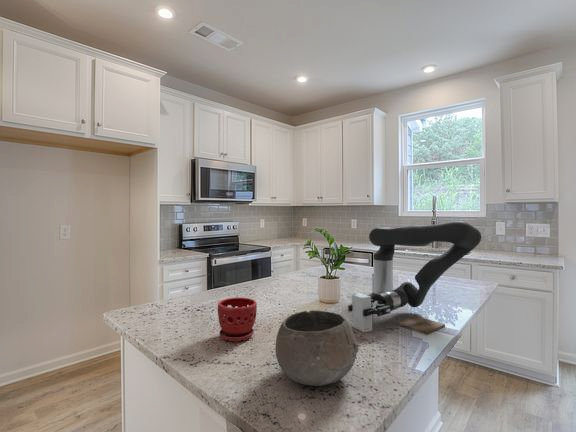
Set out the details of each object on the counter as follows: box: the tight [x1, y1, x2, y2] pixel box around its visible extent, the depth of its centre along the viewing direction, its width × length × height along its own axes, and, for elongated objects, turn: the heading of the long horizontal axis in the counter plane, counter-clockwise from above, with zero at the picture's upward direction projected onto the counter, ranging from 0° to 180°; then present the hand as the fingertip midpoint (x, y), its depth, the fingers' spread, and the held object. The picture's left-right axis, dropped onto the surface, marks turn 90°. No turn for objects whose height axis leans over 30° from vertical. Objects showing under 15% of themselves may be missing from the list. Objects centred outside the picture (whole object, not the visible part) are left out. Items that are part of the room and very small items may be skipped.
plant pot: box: [217, 297, 258, 342], centre depth 109 cm, size 13×13×12 cm
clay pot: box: [274, 309, 359, 387], centre depth 82 cm, size 21×21×15 cm
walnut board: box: [395, 315, 446, 335], centre depth 116 cm, size 12×12×1 cm
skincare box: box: [351, 292, 373, 333], centre depth 113 cm, size 6×4×12 cm
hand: (356, 310), depth 112 cm, fingers closed on skincare box, 6 cm apart
